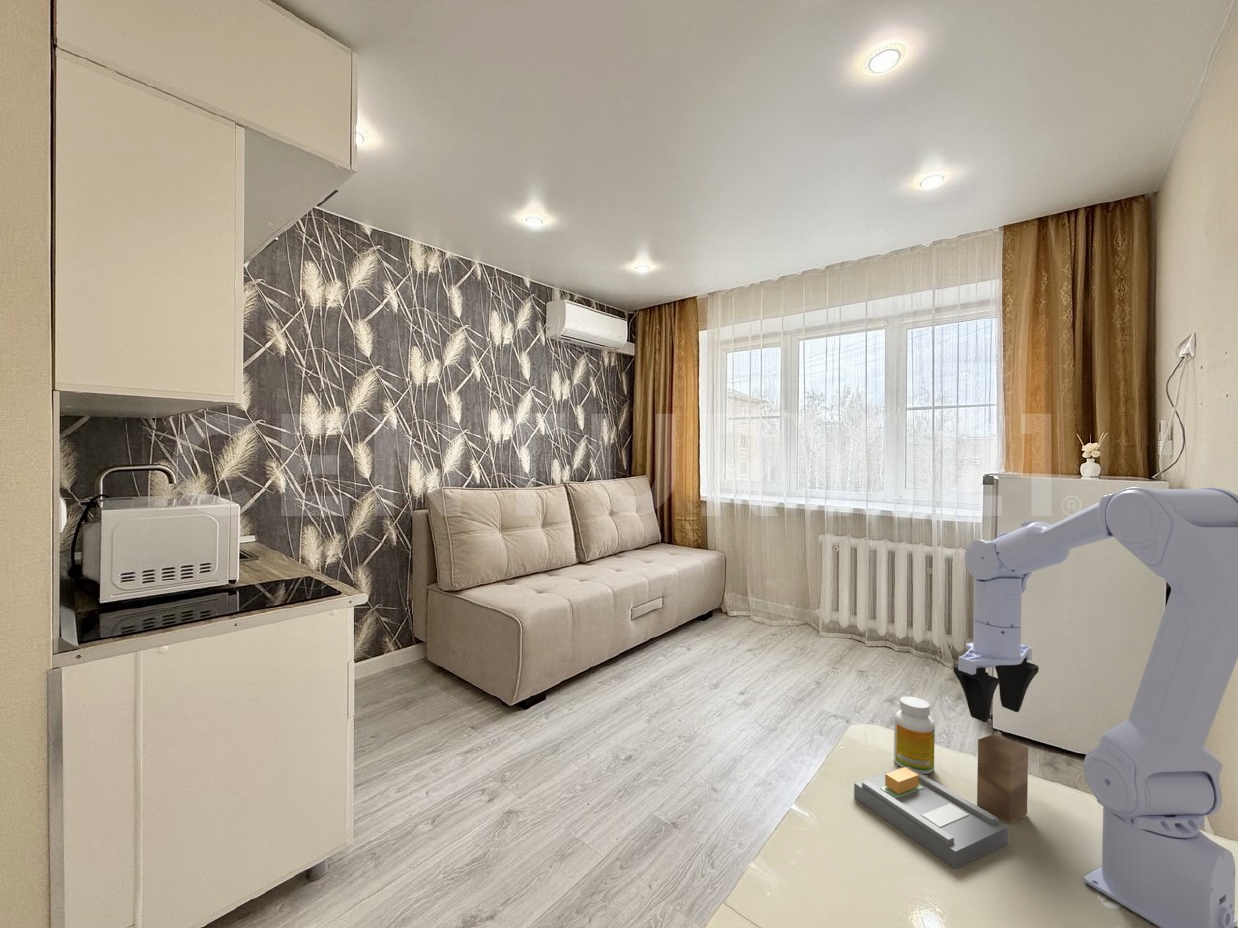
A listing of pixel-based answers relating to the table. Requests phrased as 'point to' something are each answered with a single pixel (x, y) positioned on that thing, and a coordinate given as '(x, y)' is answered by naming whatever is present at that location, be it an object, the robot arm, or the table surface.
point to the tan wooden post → (1002, 777)
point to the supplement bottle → (914, 735)
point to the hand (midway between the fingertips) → (995, 713)
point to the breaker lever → (901, 780)
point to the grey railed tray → (935, 818)
